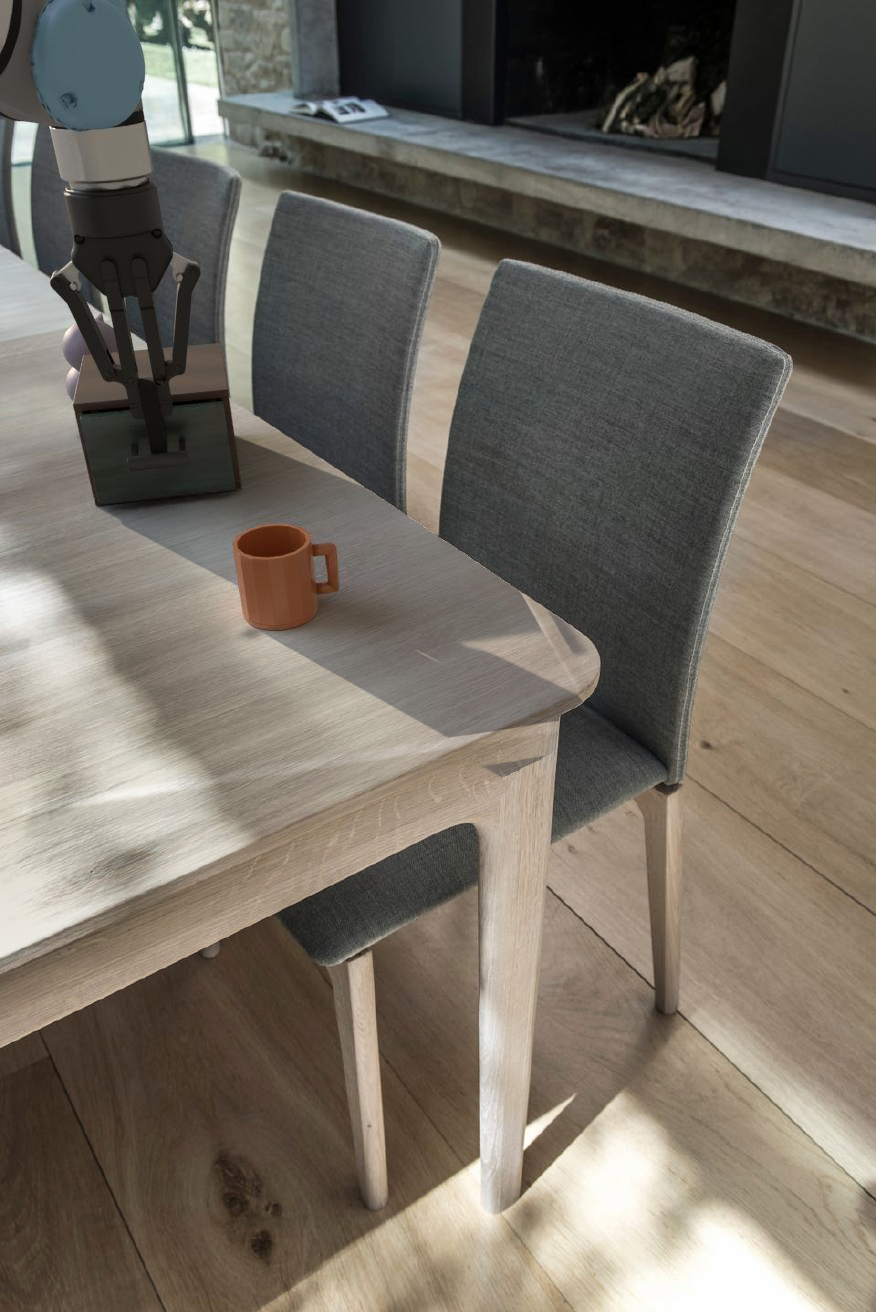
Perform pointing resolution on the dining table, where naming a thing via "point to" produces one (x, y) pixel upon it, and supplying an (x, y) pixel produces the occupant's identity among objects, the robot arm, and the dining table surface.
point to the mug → (281, 575)
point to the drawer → (183, 469)
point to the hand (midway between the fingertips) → (159, 448)
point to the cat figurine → (82, 350)
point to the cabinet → (195, 384)
